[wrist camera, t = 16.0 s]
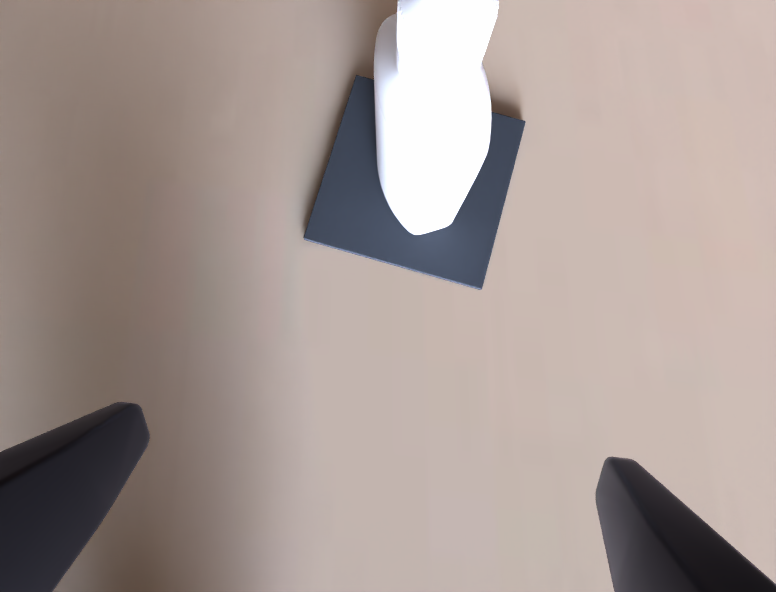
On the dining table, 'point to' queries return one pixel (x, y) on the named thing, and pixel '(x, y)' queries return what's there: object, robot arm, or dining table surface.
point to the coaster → (379, 224)
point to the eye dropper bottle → (432, 107)
